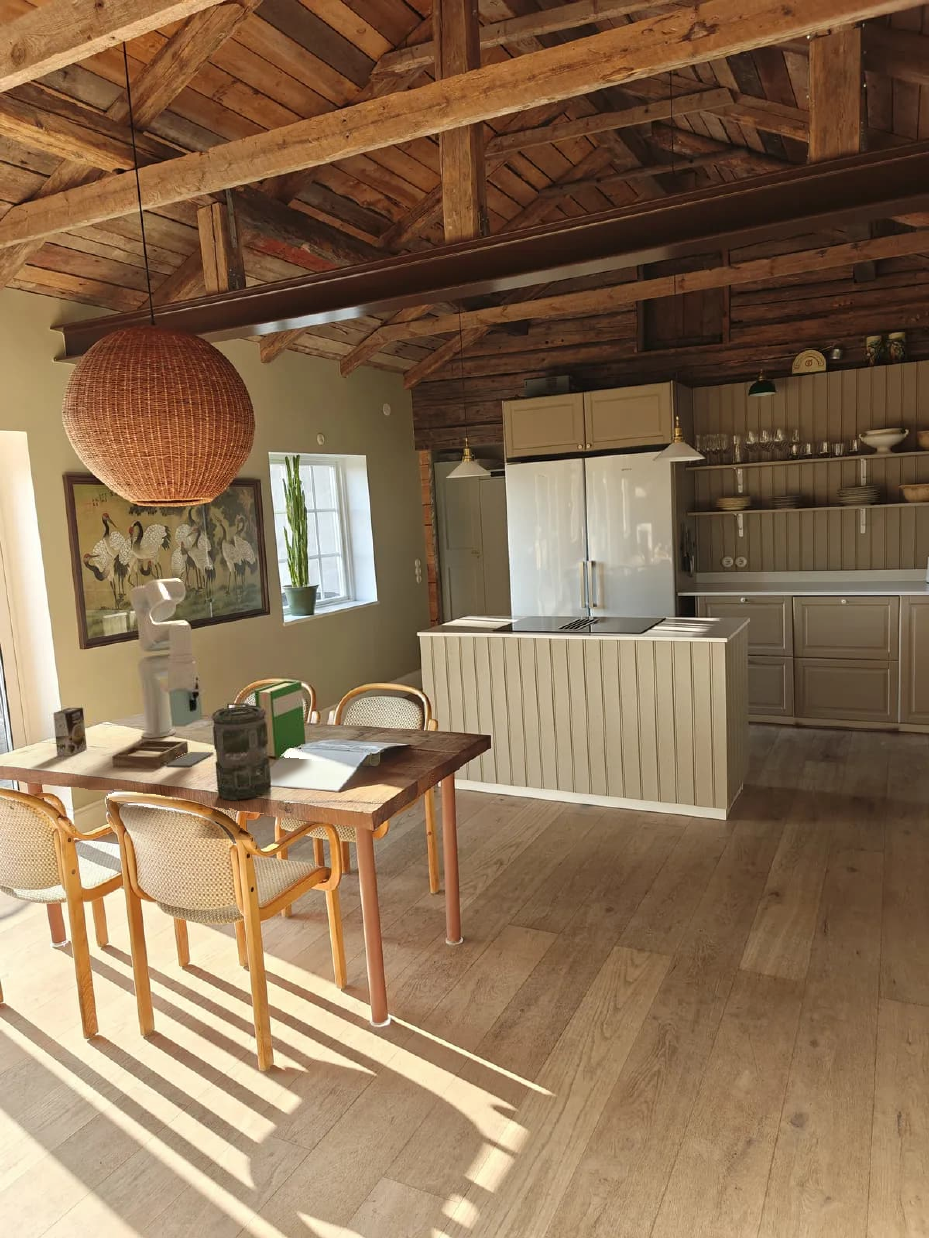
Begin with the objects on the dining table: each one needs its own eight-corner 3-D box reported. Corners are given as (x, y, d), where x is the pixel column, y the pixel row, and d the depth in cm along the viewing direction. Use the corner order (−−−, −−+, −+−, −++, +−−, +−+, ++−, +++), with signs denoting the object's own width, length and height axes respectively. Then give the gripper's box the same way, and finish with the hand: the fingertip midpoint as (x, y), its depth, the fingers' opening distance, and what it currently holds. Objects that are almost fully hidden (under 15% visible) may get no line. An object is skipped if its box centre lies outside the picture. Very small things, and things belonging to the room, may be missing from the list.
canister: (279, 785, 270) (273, 697, 267) (257, 802, 255) (250, 709, 252) (233, 784, 274) (226, 697, 270) (208, 800, 258) (201, 708, 255)
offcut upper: (140, 756, 307) (139, 750, 307) (163, 757, 304) (162, 752, 303) (128, 760, 302) (127, 754, 301) (151, 762, 298) (150, 756, 298)
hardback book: (277, 759, 300) (272, 691, 297) (259, 757, 303) (254, 690, 300) (305, 745, 316) (301, 681, 313) (288, 744, 319) (284, 680, 316)
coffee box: (72, 756, 316) (67, 712, 314) (56, 755, 317) (52, 712, 315) (87, 749, 325) (83, 707, 323) (72, 748, 326) (68, 706, 324)
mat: (191, 753, 312) (190, 751, 312) (213, 753, 310) (213, 752, 310) (166, 766, 297) (166, 764, 297) (190, 767, 295) (190, 765, 295)
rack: (146, 751, 318) (145, 740, 318) (188, 752, 314) (187, 741, 314) (113, 767, 299) (111, 756, 298) (157, 768, 295) (156, 757, 294)
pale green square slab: (172, 726, 296) (169, 692, 295) (190, 718, 308) (187, 685, 307) (184, 726, 295) (181, 692, 294) (202, 718, 307) (199, 684, 306)
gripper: (154, 660, 297) (158, 712, 300) (198, 660, 294) (203, 713, 296) (166, 657, 305) (170, 707, 307) (209, 656, 301) (214, 708, 303)
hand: (186, 709), depth 301 cm, fingers closed on pale green square slab, 4 cm apart
